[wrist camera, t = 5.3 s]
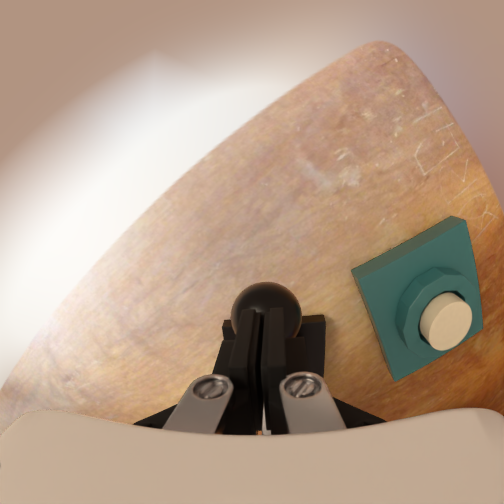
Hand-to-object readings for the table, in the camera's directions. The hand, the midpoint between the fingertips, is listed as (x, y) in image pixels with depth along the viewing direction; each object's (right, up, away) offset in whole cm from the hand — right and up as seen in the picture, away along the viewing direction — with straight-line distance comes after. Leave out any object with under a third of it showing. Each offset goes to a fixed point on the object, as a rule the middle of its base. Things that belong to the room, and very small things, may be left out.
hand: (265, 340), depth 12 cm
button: (+14, -1, +7) cm, 15 cm away
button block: (+14, 0, +10) cm, 17 cm away
